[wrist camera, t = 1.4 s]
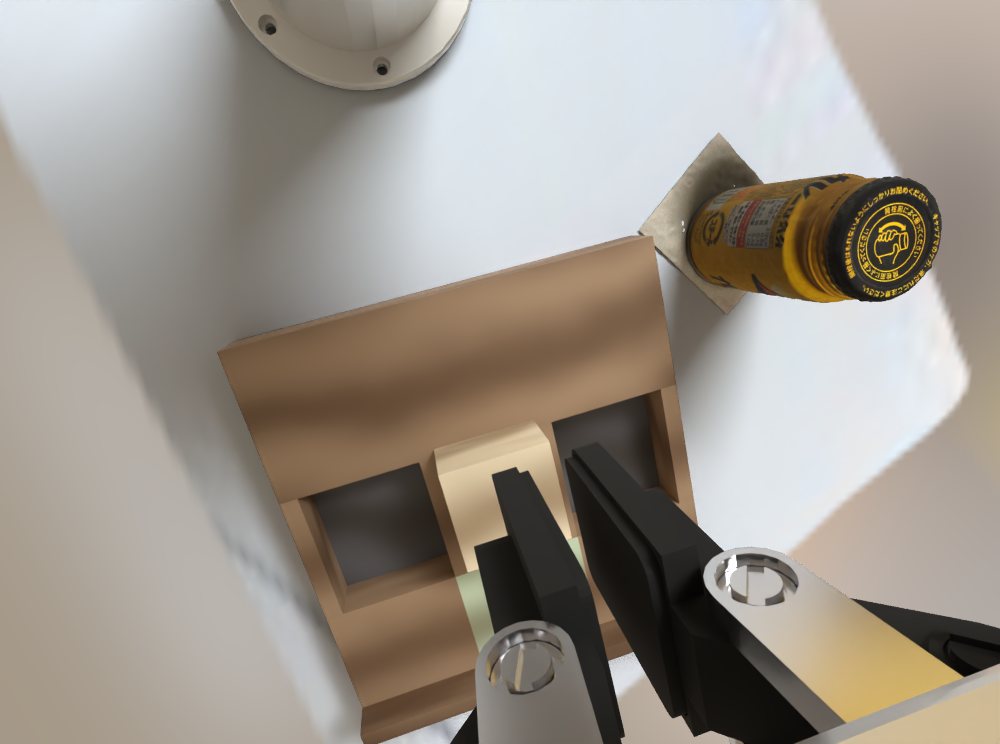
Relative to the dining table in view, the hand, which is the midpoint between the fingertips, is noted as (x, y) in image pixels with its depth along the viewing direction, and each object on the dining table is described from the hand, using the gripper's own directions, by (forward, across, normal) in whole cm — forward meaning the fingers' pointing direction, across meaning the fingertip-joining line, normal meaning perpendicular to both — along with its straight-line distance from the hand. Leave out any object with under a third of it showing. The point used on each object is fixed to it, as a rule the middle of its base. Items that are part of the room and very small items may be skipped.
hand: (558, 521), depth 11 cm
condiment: (+22, -18, -2) cm, 29 cm away
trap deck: (+22, 0, +10) cm, 24 cm away
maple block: (+19, 0, +8) cm, 21 cm away
